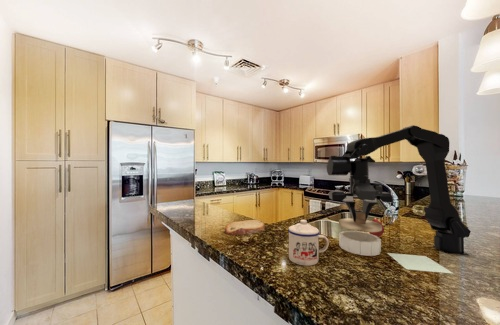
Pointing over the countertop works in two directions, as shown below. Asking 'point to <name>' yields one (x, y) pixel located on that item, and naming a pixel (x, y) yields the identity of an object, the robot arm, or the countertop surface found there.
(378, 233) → the onion
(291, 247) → the teacup with lid
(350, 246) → the bowl
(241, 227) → the bread slice
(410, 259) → the mat
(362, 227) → the lid
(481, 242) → the countertop surface
